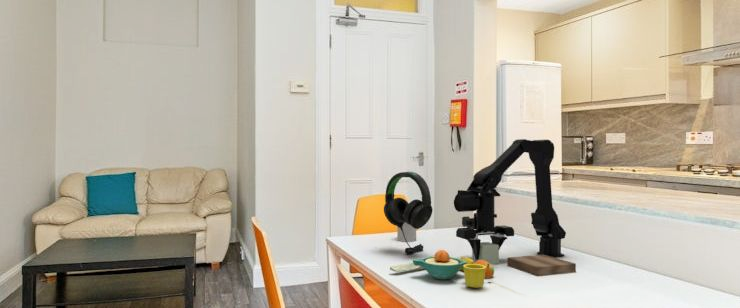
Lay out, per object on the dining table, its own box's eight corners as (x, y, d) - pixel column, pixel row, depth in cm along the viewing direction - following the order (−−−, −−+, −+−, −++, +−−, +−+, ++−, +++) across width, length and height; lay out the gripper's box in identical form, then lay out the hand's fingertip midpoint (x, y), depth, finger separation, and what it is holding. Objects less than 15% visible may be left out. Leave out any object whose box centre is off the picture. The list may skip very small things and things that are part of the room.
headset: (379, 253, 169) (379, 171, 169) (404, 248, 178) (404, 170, 178) (418, 261, 156) (419, 172, 156) (443, 255, 166) (443, 171, 166)
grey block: (415, 244, 185) (415, 213, 185) (396, 244, 187) (396, 213, 187) (417, 241, 193) (417, 211, 193) (398, 240, 194) (398, 211, 194)
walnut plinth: (543, 262, 155) (543, 254, 155) (575, 272, 142) (575, 263, 142) (507, 265, 150) (507, 257, 150) (537, 276, 137) (537, 267, 137)
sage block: (487, 260, 158) (487, 241, 158) (498, 263, 153) (498, 245, 153) (472, 261, 156) (472, 243, 156) (482, 265, 150) (482, 246, 150)
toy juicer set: (505, 275, 139) (505, 249, 139) (480, 290, 124) (480, 260, 124) (419, 263, 156) (419, 239, 156) (388, 274, 141) (388, 247, 141)
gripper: (494, 207, 165) (494, 252, 165) (447, 209, 159) (447, 256, 159) (515, 210, 155) (515, 258, 155) (465, 212, 148) (465, 263, 148)
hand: (485, 258), depth 154 cm, fingers closed on sage block, 6 cm apart
